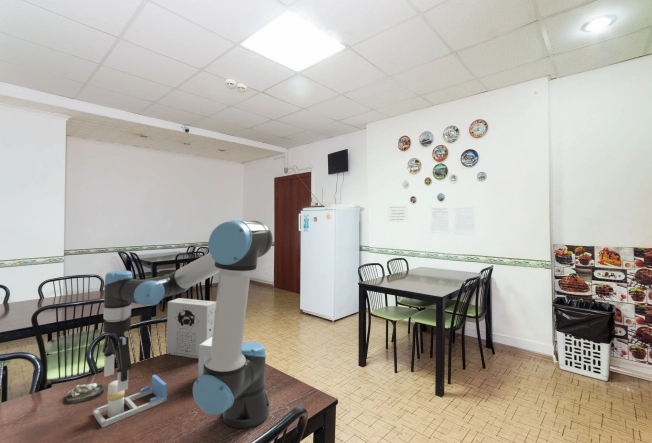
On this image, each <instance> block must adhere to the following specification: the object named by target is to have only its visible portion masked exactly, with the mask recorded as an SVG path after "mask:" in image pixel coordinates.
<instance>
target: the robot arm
mask: <svg viewBox="0 0 652 443" xmlns="http://www.w3.org/2000/svg"><path fill="white" fill-rule="evenodd" d="M273 242H274V241H273V233H272V231H271V229H270V228H269V227H268V226H267V225H266V224H265V223H263V222H261V221H257V220H239V219H238V220H229V221H225V222H222V223H220V224H219V225H217V226H216V227H215V228H214V229H213V230H212V231H211V234H210V235H209V238H208V242H207V245H208V251H209V252H208V253H206V254H205V255H203V256H200V257H199V258H197V259H195V260H193V261H192V262H190V263H188V264H186V265H184V266H182V267H180V268H179V269H177V270H175V271H173V272H170V273H169V274H165V275H161V276H156V277H151V278H146V279H138V278H137V279H136V278H133V272H132V271H130V270H113V271H109V272H107V273H106V274H105V277H104V285H103V286H104V287H103V288H104V289H103V290H104V293H103V294H104V295H103V301H104V302H103V324H102V325H103V326H102V329H103V330H102V331H103V332H104V333H105V337H104V341H103V342H104V343H103V347H102V350H101V352H102V353H103V356H104V365H103V366H104V370H103V376H104V377H105V378H106V377H109V376H112V375H115V355H116V361H117V365H118V370H116V373H117V380H118V384H117V392H121V391H123V390H125V391H126V390H128V389H129V370H132V360H131V353H130V346H129V342H130V341H129V337H128V336H126V334H125V333H126V332H127V331H129V330H130V329H131V326H132V325H131V324H132V323H131V322H132V318H131V316H132V309H133V308H134V307H133V305H132V304H135V305H142V306H156V305H158V304H159V303H160V302H161V301H162V300H163V299H165V298H168V297H171V296H175V295H180V294H181V293H184V292H187V290H189V289H190V288H191V287H193V286H195V285H197V284H199V283H201V282H203V281H205V280H208V278H210V277H213V276H216V275H217V274H218V283H217V291H216V300H215V302H216V309H215V318H214V327H213V336H212V346H211V354H209V355H208V356H207V357H206V358H205V360H204V367H203V374H202V375H201V376H199V377H198V376H197V378H196V380H195V381H194V383H193V385H192V397H193V399H194V401H195V403H196V404H197V406H198V407H199V408H200V409H201V410H202V411H203V412H204V413H206V414H209V415H213V416H217V415H221V414H222V421H223V422H224V424H226V425H227V426H228V427H232V428H235V429H248V428H253V427H255V426H257V425H259V424H261V423H263V422H264V421H265V420H266V419H267V418H268V417H269V415H270V401H269V398H268V394H267V391H266V387H265V384H266V383H265V382H266V357H267V355H266V348H265V346H264V345H263V344H262V343H259V342H256V341H255V342H254V341H244V334H245V324H246V314H247V308H248V307H247V305H248V298H249V287H250V280H251V279H250V278H251V275H252V274H253V273H254V272H255V271H256V270H257V265H258V258H260V257H262V256H264V255H266V254H267V253H268V252H269V251H270V249H271V248H272V246H273Z"/></svg>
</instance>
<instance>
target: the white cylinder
mask: <svg viewBox="0 0 652 443" xmlns="http://www.w3.org/2000/svg"><path fill="white" fill-rule="evenodd" d="M117 384H118V379H117V380H113V381H110V382H109V383H108V385H107V395H106V396H107V397H106V398H107V399H106V400H107V404H108V410H107V417H108V419H109V418H111V417H114V416H116V415H119V414H121V413H124V412H125V404H124V398H125V393H126V392H125V391H126V390H123V391H121V392H117Z"/></svg>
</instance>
